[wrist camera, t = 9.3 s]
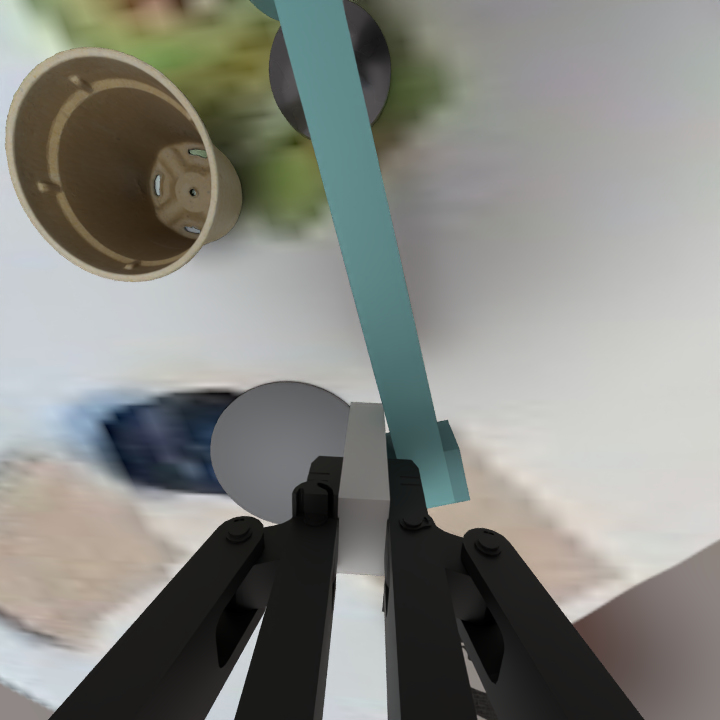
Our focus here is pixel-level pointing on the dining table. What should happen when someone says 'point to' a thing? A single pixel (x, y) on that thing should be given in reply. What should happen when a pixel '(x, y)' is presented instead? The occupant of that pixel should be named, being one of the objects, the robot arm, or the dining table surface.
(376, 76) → the grey pedestal stand
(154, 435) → the dining table surface
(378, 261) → the teal paddle stick
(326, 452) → the pad
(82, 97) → the flower pot
